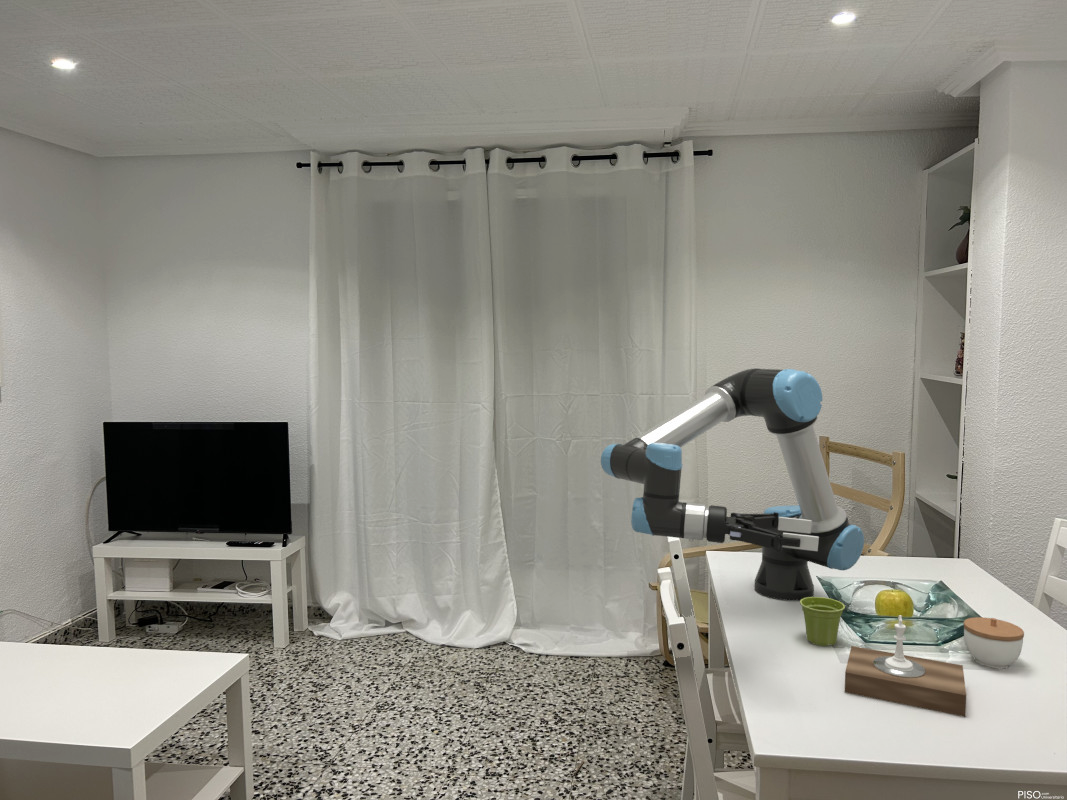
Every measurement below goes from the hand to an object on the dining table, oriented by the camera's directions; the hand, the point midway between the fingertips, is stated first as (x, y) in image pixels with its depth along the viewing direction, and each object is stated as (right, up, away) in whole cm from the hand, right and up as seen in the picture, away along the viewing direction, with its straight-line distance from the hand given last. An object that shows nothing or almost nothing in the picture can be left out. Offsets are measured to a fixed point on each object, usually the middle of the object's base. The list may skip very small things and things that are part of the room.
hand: (814, 535), depth 150 cm
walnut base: (+15, -29, -6) cm, 33 cm away
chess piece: (+14, -24, -6) cm, 29 cm away
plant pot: (+8, -27, +17) cm, 33 cm away
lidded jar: (+39, -28, +6) cm, 49 cm away
